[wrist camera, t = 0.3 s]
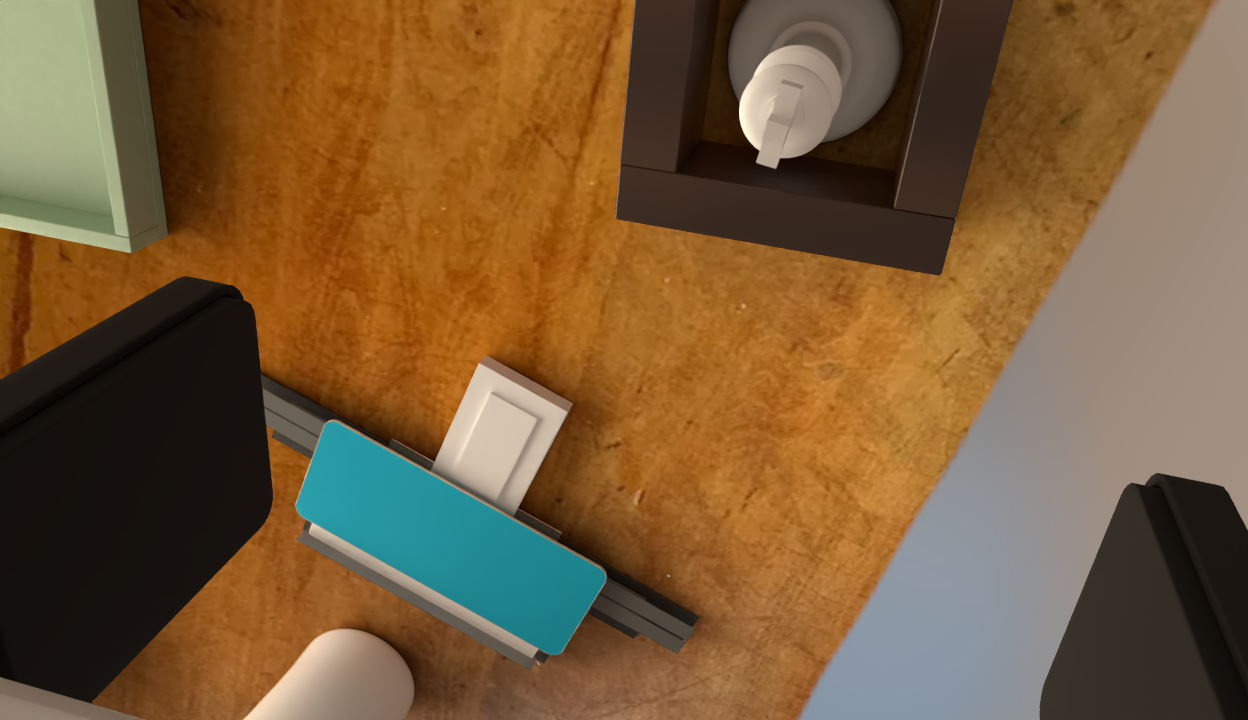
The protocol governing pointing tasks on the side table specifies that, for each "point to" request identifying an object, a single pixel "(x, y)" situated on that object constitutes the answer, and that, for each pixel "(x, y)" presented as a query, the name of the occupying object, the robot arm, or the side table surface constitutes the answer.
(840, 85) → the chess piece
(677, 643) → the phone stand
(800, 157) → the frame
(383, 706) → the drinking glass
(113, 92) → the tray
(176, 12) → the side table surface
